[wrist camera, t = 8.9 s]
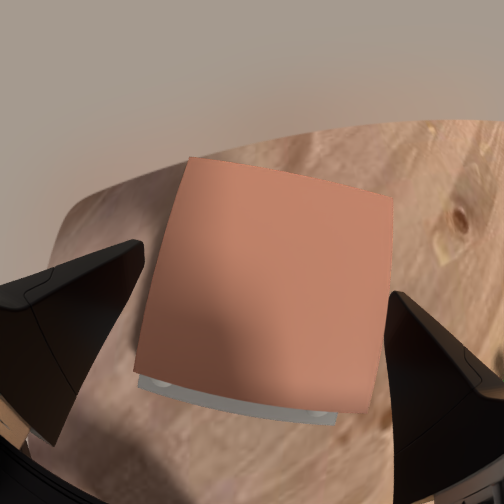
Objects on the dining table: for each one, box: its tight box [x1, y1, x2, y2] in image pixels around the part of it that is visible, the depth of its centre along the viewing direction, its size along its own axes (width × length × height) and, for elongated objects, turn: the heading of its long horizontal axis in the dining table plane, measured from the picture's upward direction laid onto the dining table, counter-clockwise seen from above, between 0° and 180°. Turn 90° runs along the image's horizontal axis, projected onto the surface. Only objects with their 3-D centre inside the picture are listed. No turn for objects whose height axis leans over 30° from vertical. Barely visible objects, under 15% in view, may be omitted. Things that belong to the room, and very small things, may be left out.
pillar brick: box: [133, 157, 393, 413], centre depth 11 cm, size 4×4×13 cm
